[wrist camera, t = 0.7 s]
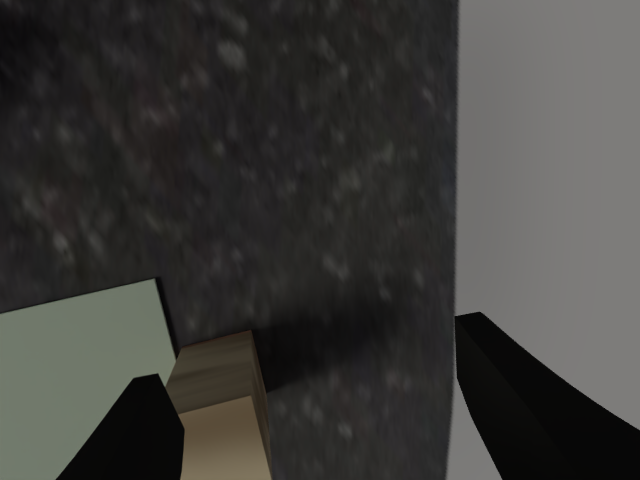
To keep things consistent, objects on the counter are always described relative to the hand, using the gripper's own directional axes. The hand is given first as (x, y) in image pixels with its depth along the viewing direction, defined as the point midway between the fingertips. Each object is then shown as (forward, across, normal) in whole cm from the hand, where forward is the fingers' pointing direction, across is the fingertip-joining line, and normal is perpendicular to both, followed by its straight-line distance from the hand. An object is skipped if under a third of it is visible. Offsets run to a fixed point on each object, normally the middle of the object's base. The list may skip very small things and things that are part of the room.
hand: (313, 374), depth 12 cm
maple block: (+15, +7, +13) cm, 21 cm away
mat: (+14, +17, +13) cm, 25 cm away
